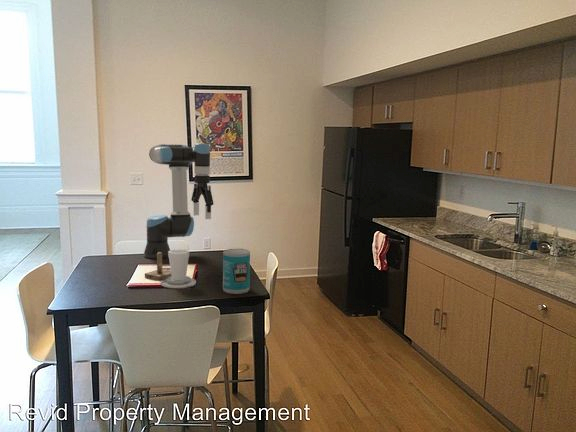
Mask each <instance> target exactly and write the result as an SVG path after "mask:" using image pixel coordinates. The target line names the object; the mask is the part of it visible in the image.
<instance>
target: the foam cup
mask: <svg viewBox="0 0 576 432" xmlns="http://www.w3.org/2000/svg"><path fill="white" fill-rule="evenodd" d="M167 258H168V260H169V266H170V271H171V276H172V280H184V279H186V276H187V273H188V272H187V271H188V265H189V259H190V251H189V249H181V248H179V249H178V248H177V249H170V251H168V257H167Z"/></svg>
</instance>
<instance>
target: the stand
mask: <svg viewBox="0 0 576 432" xmlns="http://www.w3.org/2000/svg"><path fill="white" fill-rule="evenodd" d="M156 266H157V267H156V270H151V271H148V272H145V273H144V278H146V279H151V280H154V281H159V282H161V281H163V280H165V279H167V278H168V277H171V270H170V271H169V270H165V269H163V258H162V253H161V252H159V253H157V258H156Z"/></svg>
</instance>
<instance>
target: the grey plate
mask: <svg viewBox="0 0 576 432" xmlns="http://www.w3.org/2000/svg"><path fill="white" fill-rule="evenodd" d="M196 284H197V279H195V278H193V277H190V276H188V275H186V279H184V280H172V276H171V277H168V278H167V279H164V280H161V281H160V285H161V287H163V288H166V289H171V290H174V289H175V290H181V289H182V290H183V289H188V288H192V287H194V286H196Z"/></svg>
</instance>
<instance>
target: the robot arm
mask: <svg viewBox="0 0 576 432" xmlns="http://www.w3.org/2000/svg"><path fill="white" fill-rule="evenodd" d="M148 156H149V158H150V160H151V161H152V162H153V163H156V164H160V165H167V166H168V169H169V170H171V171H170V172H171V185H172V186H171V187H172V189H171V190H172V192H171V193H172V212H171V213H170V214H169V215H170V217H168V215H166V214H162V215H161V214H158V215H154V216H150V217H148V218H147V220H146V245H145V248H144V251H143V257H144V258H146V259H147V258H148V259H157V253H159V252H161V253H162V259H165V258H169V257H168V251H170V250H171V249H170V246H169V242H168V241H169V240H168V239H169V238H180V237H181V238H183V237H190V236H191V235H193V232H194V230H195V229H194V228H195V220H194V217H193V216H200V201H199V200H200V199H201V196H203V200H204V202H205V205H204V206H205V207H204V208H205V210H204V212H205V214H204V215H205V216H204V219H205V220H212V206H213V205H215V203H214V198H213V195H212V188H211V185H208V184H209V183H211V176H210V174H211V173H210V172H211V146H210V144H209V143H195V144H194V146H193V147H190V146H188V145H185V144H165V143H163V144H157V145H154V146H152V147H151V148H150V150H149V153H148ZM192 163H194V167H193V169H194V170H193V171H194V184H193V191H192V194H191V195H192V196H191V201H192V204H193V216H191V212H189V210H188V209H189V208H188V205H189V203H188V177H187V176H188V174H187V172H188V170H189V168H190V166H191V165H192Z"/></svg>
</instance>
